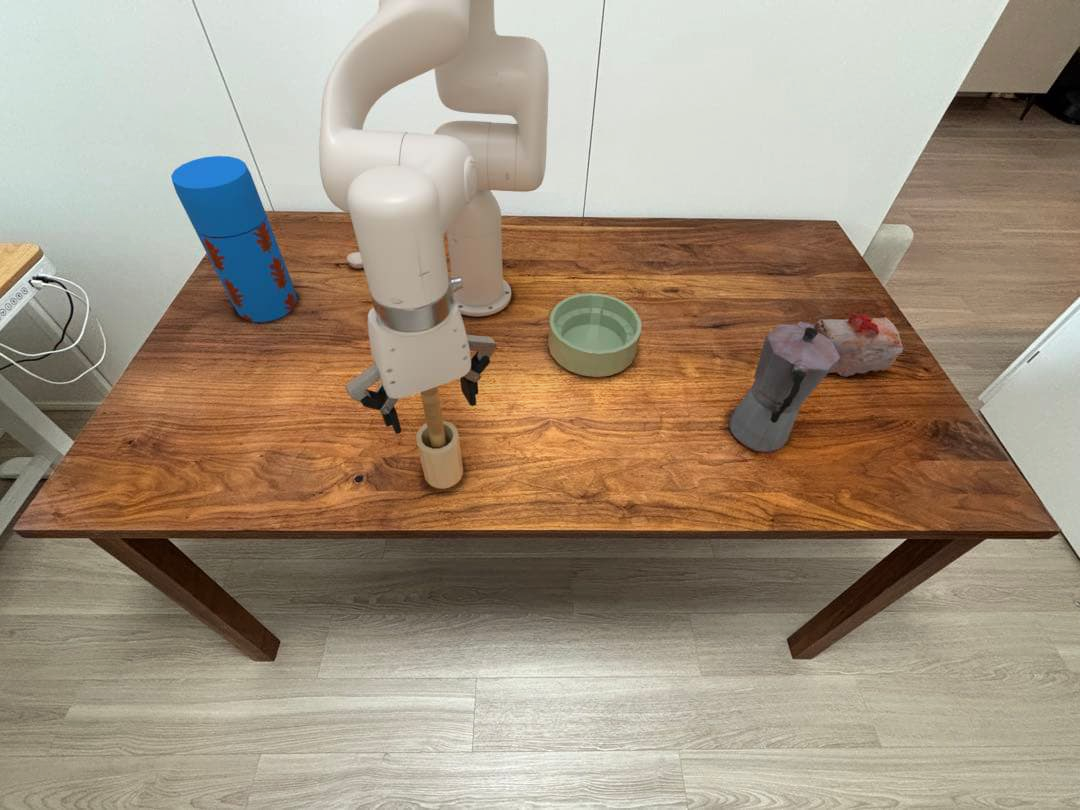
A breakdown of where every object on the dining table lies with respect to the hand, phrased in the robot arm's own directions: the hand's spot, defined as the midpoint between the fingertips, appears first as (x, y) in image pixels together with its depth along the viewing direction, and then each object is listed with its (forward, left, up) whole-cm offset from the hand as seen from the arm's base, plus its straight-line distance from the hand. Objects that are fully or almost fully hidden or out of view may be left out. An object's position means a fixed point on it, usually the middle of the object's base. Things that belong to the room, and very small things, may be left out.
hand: (432, 411), depth 66 cm
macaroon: (-55, +4, -14) cm, 57 cm away
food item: (+10, +70, -14) cm, 72 cm away
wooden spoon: (0, 0, -13) cm, 13 cm away
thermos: (-50, -15, -14) cm, 54 cm away
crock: (0, 0, -14) cm, 14 cm away
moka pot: (+15, +46, -14) cm, 50 cm away
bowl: (-13, +33, -14) cm, 38 cm away
